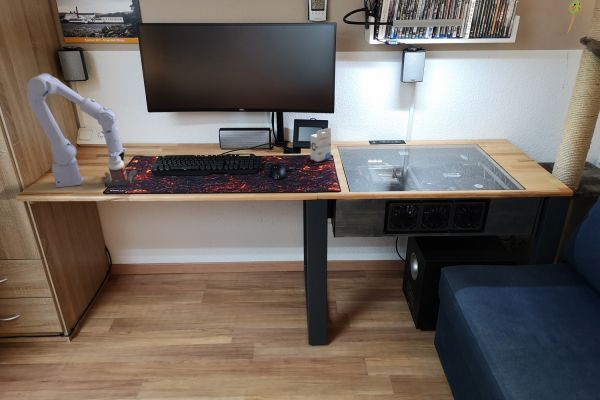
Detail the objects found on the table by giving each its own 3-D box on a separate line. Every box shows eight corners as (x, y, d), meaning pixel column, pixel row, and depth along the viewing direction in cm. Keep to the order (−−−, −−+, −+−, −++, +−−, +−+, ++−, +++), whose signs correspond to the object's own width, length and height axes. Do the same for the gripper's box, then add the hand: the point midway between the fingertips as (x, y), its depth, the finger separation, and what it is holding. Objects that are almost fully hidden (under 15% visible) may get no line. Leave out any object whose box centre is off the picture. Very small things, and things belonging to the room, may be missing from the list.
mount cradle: (101, 187, 179) (99, 182, 178) (105, 176, 189) (104, 171, 188) (134, 184, 181) (133, 178, 180) (136, 173, 192) (135, 168, 191)
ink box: (324, 155, 210) (324, 125, 203) (331, 157, 206) (331, 127, 200) (310, 159, 205) (310, 128, 199) (316, 161, 202) (316, 130, 195)
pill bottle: (129, 182, 183) (124, 161, 176) (113, 185, 181) (107, 164, 174) (126, 173, 187) (121, 152, 180) (110, 176, 185) (105, 155, 178)
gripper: (121, 143, 173) (129, 175, 179) (125, 133, 186) (132, 162, 192) (102, 146, 172) (111, 178, 178) (107, 135, 185) (115, 165, 191)
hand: (121, 170), depth 185 cm, fingers closed, pressing on pill bottle
